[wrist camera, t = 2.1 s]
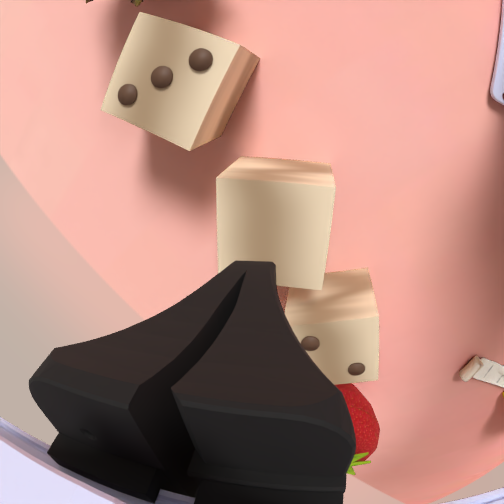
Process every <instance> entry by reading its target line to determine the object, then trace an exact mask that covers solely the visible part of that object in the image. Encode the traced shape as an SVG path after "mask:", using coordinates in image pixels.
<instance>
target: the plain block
mask: <svg viewBox="0 0 504 504" xmlns="http://www.w3.org/2000/svg"><path fill="white" fill-rule="evenodd" d="M335 190H336V186H335V182H334V177H333V173H332V169H331V164H330V163H322V162H312V161H301V160H289V159H276V158H261V157H243V156H241V157H239V158H238V159H237V160H236V161H235V162H234V163H232V164H231V165H230V166H229V167H228V168H227V169H226V170H224V171H223V172H222V173H221V174H220V175H219V176H218V177H216V209H217V250H218V274H219V273H220V272H221V271H222V270H224V269H225V268H226V267H227V266H229V265H230V264H231V263H233V262H234V261H236V260H238V261H270V262H273V263H274V264H275V265H276V285H277V286H285V287H294V288H304V289H313V290H322V286H323V279H324V273H325V267H326V260H327V253H328V246H329V239H330V231H331V223H332V216H333V207H334V199H335Z"/></svg>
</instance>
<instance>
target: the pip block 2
mask: <svg viewBox="0 0 504 504" xmlns="http://www.w3.org/2000/svg"><path fill="white" fill-rule="evenodd" d="M285 316H286V318H287V320H288V322H289V324H290V326H291V328H292V330H293V332H294V333H295V335H296V337H297V339H298V340H299V342H300V343H301V345H302V346H303V348H304V349H305V351H306V352H307V353H308V355H309V356H310V358H311V359H312V360H313V362H314V363H315V364H316V365H317V366H318V368H319V369H320V370H321V371H322V372H323V374H324V375H325V376H326V377H327V378H328V379H329V380H330V381H331V382H332V383H333V384H334V385H337V384H348V383H358V382H366V381H375V380H378V370H379V314H378V310H377V305H376V300H375V296H374V291H373V287H372V283H371V278H370V274H369V270H368V268H361V269H354V270H346V271H338V272H330V273H324V279H323V286H322V290H313V289H304V288H294V287H289V290H288V296H287V302H286V308H285Z"/></svg>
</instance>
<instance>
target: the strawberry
mask: <svg viewBox="0 0 504 504" xmlns="http://www.w3.org/2000/svg"><path fill="white" fill-rule="evenodd" d="M335 386H336V387H337V388H338V389H339V390H340V391H341V392H342V393H343V396H344V399H345V401H346V404H347V407H348V409H349V412H350V415H351V419H352V422H353V426H354V431H355V437H356V451H355V455H354V457H353V460H352V462H351V464H350V467H349V469H348V471H347V473H348V474H352V475H355V472H354V470H353V468H352V467H351V466H356V465H362V464H367V463H371V461H365V460H366V459H367V458H368V457H369V456H370V455H371V454H372V453H373V452H374V451H375V449H376V448H377V445H378V439H379V432H380V428H379V424H378V421H377V419H376V416H375V413H374V411H373V408H372V406H371V404H370V403H369V402H368V401H367V399H366V398H365V397H364V396H363V395H362V393H361V392H360V391H359V390H358V389H357V388H356V387H355V386H354V385H353V384H351V383H348V384H337V385H335Z"/></svg>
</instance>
